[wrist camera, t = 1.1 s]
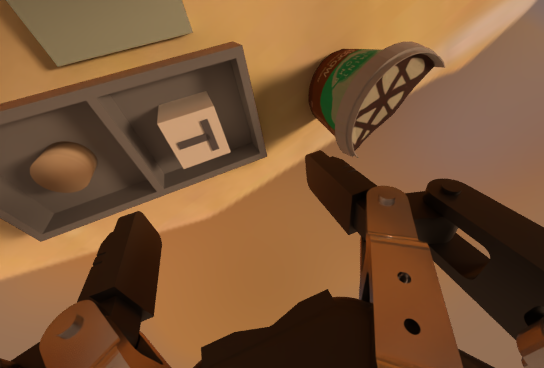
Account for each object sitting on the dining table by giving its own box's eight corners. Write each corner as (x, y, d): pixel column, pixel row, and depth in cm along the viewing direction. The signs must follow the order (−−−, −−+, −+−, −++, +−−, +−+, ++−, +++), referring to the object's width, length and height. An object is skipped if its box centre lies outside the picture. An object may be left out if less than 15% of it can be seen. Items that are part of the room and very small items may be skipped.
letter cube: (158, 105, 21) (156, 124, 18) (206, 90, 22) (214, 106, 18) (181, 146, 25) (183, 169, 21) (221, 132, 25) (231, 152, 22)
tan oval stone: (32, 149, 20) (15, 166, 17) (77, 135, 20) (67, 150, 18) (67, 180, 22) (56, 198, 20) (106, 167, 23) (100, 183, 21)
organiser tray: (-80, 125, 16) (-125, 145, 14) (232, 41, 21) (242, 45, 18) (53, 218, 24) (40, 241, 22) (258, 143, 29) (267, 156, 26)
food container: (352, 6, 23) (437, 3, 16) (373, 49, 27) (450, 61, 20) (281, 101, 26) (324, 134, 19) (309, 126, 30) (354, 161, 23)
